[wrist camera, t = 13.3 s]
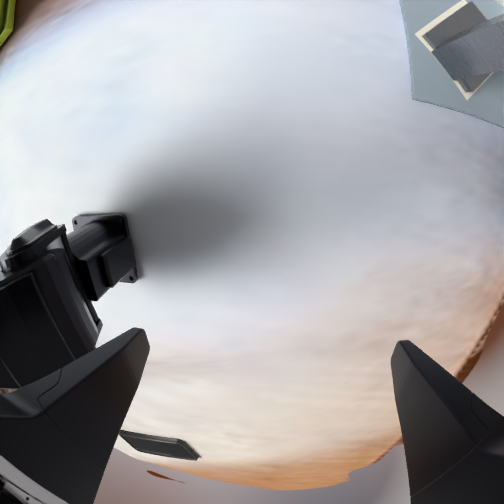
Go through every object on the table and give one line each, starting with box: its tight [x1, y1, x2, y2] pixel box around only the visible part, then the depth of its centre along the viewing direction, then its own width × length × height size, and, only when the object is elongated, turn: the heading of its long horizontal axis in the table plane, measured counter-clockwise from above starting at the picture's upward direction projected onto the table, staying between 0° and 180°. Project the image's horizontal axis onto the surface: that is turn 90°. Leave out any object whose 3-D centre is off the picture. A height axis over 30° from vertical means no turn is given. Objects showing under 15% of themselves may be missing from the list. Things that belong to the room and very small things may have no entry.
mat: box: [399, 0, 504, 128], centre depth 11 cm, size 14×15×1 cm
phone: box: [119, 430, 198, 460], centre depth 40 cm, size 8×1×15 cm
